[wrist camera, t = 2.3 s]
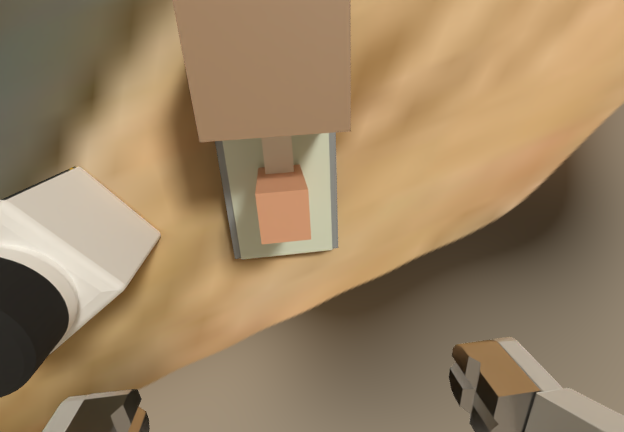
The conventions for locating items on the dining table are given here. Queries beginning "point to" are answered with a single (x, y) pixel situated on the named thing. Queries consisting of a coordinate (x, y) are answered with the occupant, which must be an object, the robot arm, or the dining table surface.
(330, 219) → the tunnel board
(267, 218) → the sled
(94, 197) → the medicine bottle
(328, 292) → the dining table surface
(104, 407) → the robot arm
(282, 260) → the dining table surface
